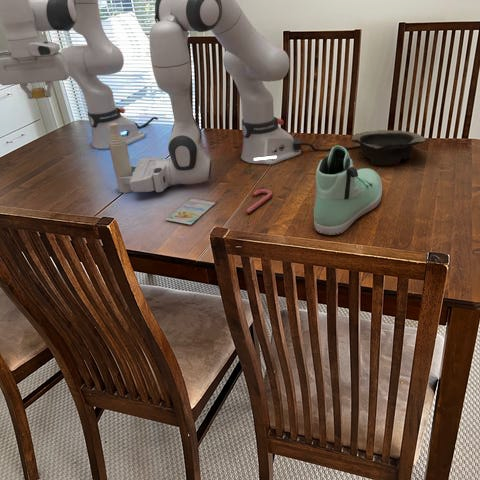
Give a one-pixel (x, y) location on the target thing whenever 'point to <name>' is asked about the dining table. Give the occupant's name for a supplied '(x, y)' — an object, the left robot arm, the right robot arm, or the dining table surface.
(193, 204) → the baking ingredient package
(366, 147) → the stone bowl
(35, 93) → the cap
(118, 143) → the bottle
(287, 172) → the dining table surface
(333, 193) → the sneaker
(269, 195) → the candy cane
